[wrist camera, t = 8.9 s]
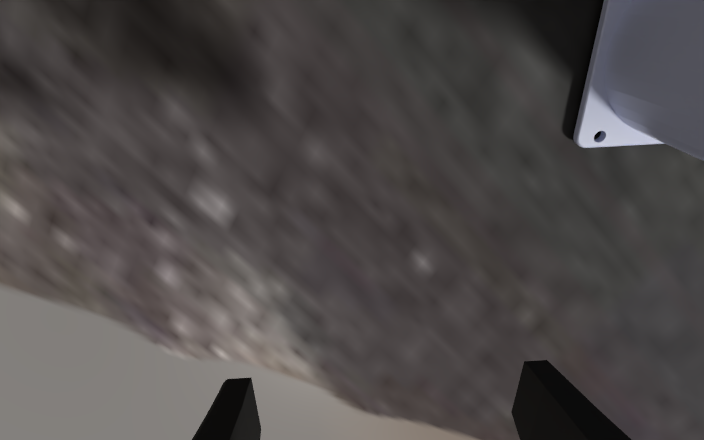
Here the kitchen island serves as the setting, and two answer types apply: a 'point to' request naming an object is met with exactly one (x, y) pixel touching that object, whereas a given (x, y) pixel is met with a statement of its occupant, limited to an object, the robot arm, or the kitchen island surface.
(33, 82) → the kitchen island surface
